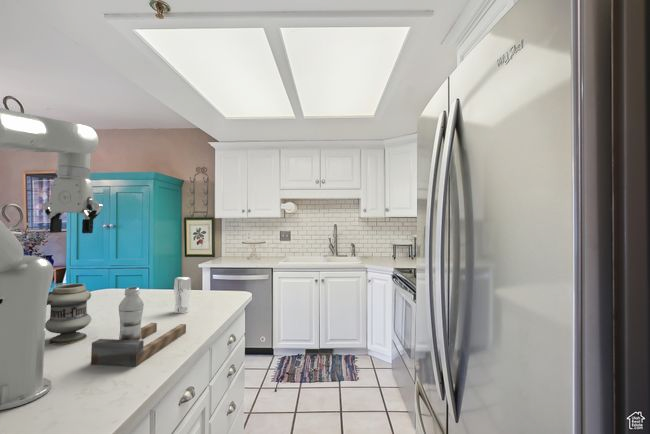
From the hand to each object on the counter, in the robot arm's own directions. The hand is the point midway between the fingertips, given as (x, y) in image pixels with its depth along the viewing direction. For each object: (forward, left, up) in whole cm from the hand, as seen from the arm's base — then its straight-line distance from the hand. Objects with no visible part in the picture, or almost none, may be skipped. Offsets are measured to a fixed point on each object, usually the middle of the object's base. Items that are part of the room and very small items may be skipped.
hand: (71, 232), depth 93 cm
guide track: (+11, -16, -36) cm, 41 cm away
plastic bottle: (+4, -17, -36) cm, 40 cm away
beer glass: (+51, -8, -36) cm, 63 cm away
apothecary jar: (+14, +12, -36) cm, 41 cm away
